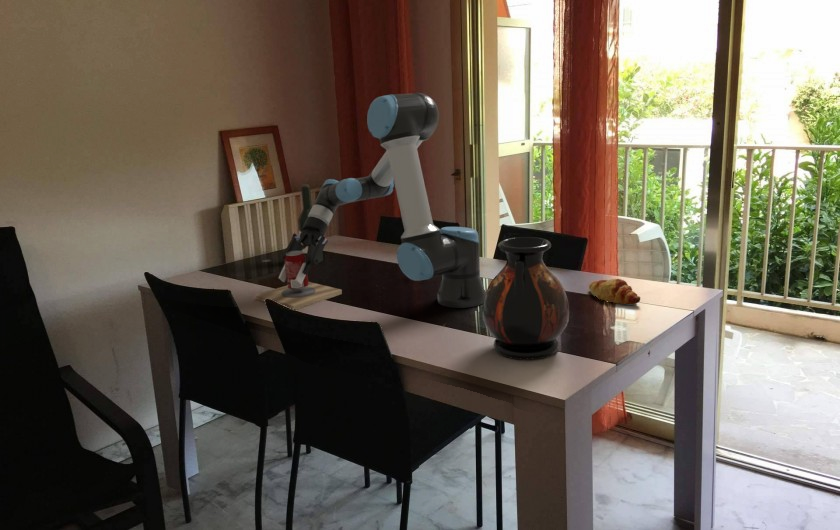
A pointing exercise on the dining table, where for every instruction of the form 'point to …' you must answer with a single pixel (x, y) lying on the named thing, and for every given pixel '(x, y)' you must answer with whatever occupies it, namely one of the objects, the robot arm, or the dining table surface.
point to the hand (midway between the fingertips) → (289, 281)
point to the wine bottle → (306, 213)
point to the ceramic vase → (525, 302)
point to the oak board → (300, 295)
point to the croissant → (614, 291)
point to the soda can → (295, 269)
